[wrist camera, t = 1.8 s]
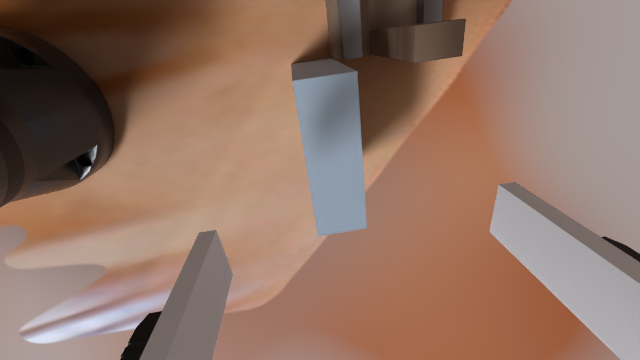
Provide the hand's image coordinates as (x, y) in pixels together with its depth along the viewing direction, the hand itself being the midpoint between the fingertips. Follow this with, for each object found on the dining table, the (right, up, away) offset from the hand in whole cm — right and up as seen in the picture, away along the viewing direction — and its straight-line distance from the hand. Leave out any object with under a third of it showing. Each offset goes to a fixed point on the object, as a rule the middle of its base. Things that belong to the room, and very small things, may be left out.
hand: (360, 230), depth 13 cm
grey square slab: (-2, +9, +17) cm, 19 cm away
